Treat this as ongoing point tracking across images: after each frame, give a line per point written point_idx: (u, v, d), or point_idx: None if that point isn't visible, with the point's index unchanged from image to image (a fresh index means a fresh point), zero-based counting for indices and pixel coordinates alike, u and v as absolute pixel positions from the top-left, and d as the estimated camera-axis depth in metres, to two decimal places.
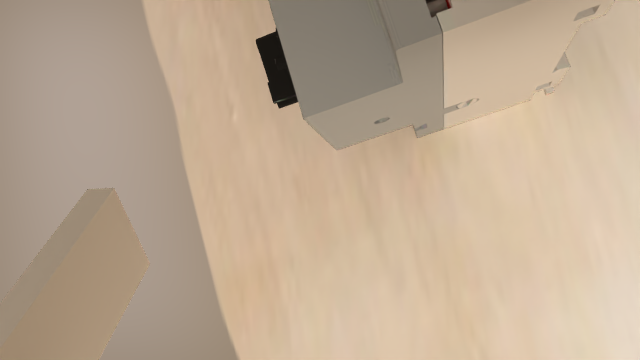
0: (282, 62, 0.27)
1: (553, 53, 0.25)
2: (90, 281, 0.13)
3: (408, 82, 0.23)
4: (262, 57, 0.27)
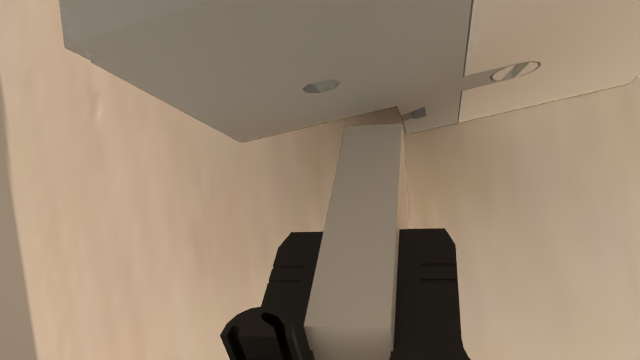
0: None
1: None
2: None
3: None
4: None
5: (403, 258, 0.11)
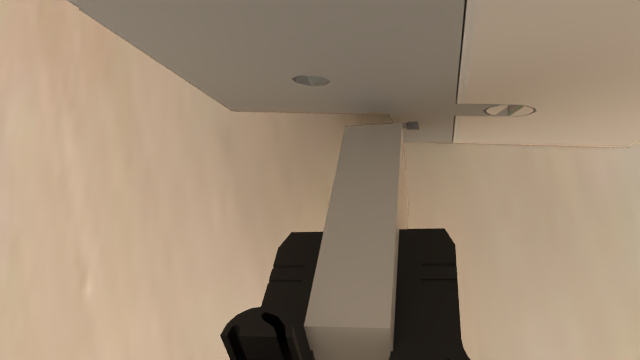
0: None
1: None
2: None
3: None
4: None
5: (403, 258, 0.11)
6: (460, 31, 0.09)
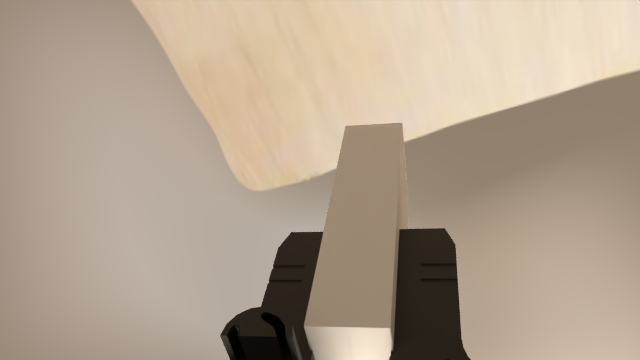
0: None
1: None
2: None
3: None
4: None
5: (403, 258, 0.11)
6: None
